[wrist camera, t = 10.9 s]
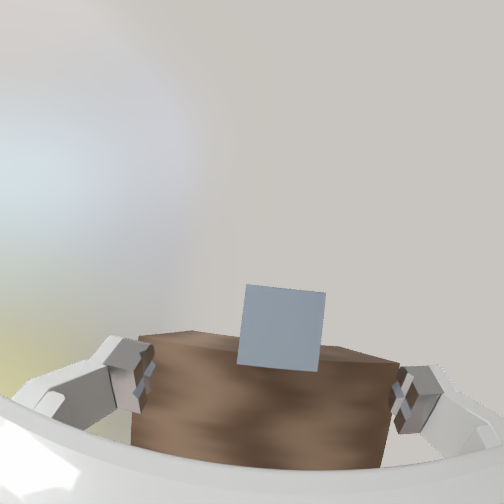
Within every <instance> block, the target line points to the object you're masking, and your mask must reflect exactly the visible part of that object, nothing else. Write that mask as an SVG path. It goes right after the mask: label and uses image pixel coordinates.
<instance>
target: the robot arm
mask: <svg viewBox="0 0 504 504" xmlns="http://www.w3.org/2000/svg"><path fill="white" fill-rule="evenodd" d="M154 355H155V352H154V346H153V345H152V344H150V343H146V342H141V341H136V340H132V339H127V338H122V337H118V336H114V335H111V336H109V337H108V338H107V339H106V340H105V341H104V343H103V344H102V345H101V346H100V347H99V349H98V350H97V351H96V352H95V354H94V355H93V356H92V357H91V358H90V360H89V361H88V360H83V361H80V362H77V363H74V364H72V365H69V366H66V367H63V368H61V369H58V370H55V371H52V372H50V373H47V374H44V375H41V376H38V377H35V378H32V379H29V380H28V381H27V382H26V383H25V384H24V385H23V386H22V388H20V390H19V391H18V392H17V393H16V394H15V395H14V396H13V397H12V399H9V398H6V397H5V396H3V395H1V394H0V504H504V417H502V416H501V415H499V414H497V413H496V412H494V411H492V410H491V409H489V408H487V407H485V406H484V405H482V404H480V403H479V402H477V401H475V400H474V399H472V398H470V397H469V396H467V395H465V394H463V393H462V392H457V391H456V389H455V388H454V386H453V384H452V383H451V381H450V380H449V378H448V376H447V375H446V373H445V372H444V370H443V369H442V367H441V366H439V365H427V366H405V367H400V369H399V370H398V372H397V374H396V378H397V380H398V381H397V382H396V383H395V384H394V385H392V387H391V389H390V392H389V397H388V406H389V409H390V412H391V413H393V414H394V415H395V416H396V417H395V419H394V423H395V426H396V429H397V432H398V434H412V433H420V435H421V436H422V437H424V438H425V439H426V440H427V441H428V442H429V443H430V444H431V445H432V446H433V447H434V448H435V449H436V450H437V451H439V453H441V454H442V455H443V456H444V457H445V458H446V459H441V460H436V461H430V462H424V463H417V464H410V465H404V466H395V467H384V468H373V469H357V470H325V471H314V470H281V469H266V468H254V467H244V466H235V465H227V464H220V463H213V462H206V461H200V460H194V459H189V458H184V457H179V456H174V455H169V454H164V453H160V452H156V451H151V450H147V449H143V448H139V447H136V446H132V445H128V444H124V443H121V442H118V441H115V440H111V439H107V438H105V437H102V436H98V435H95V434H93V433H90V432H87V431H84V430H85V429H87V428H88V427H90V426H91V425H93V424H95V423H96V422H98V421H99V420H101V419H103V418H104V417H106V416H107V415H109V414H111V413H112V412H114V411H115V410H116V408H118V409H122V410H126V411H130V412H135V413H139V414H141V412H142V410H143V408H144V406H145V404H146V402H147V395H146V394H148V393H150V392H152V389H153V387H154V384H155V380H156V365H155V364H154V362H153V361H152V359H153V357H154Z"/></svg>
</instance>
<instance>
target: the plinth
mask: <svg viewBox="0 0 504 504" xmlns="http://www.w3.org/2000/svg"><path fill="white" fill-rule="evenodd" d="M239 340H240V337H234V336H226V335H218V334H211V333H205V332H198V331H184V332H175V333H166V334H155V335H145V336H139V338H138V341H141V342H146V343H150V344H152V345H153V346H154V352H155V355H154V357H153V359H152V361H153V362H154V364H155V365H156V380H155V384H154V387H153V389H152V392H150V393H148V394H146V395H147V402H146V404H145V406H144V408H143V410H142V412H141V414H139V413H135V412H132V427H131V445H132V446H136V447H139V448H143V449H147V450H151V451H156V452H160V453H164V454H169V455H174V456H179V457H184V458H189V459H194V460H200V461H206V462H213V463H220V464H227V465H235V466H244V467H254V468H266V469H281V470H314V471H325V470H357V469H373V468H380V465H381V461H382V457H383V453H384V448H385V445H386V440H387V435H388V431H389V426H390V421H391V416H392V413H391V412H390V409H389V406H388V397H389V392H390V389H391V387H392V385H394V384H395V383H396V382H397V378H396V374H397V372H398V370H399V365H400V363H397V362H393V361H389V360H386V359H382V358H378V357H374V356H370V355H367V354H363V353H360V352H356V351H353V350H349V349H346V348H342V347H338V346H322V345H320V353H319V361H318V369H317V372H314V371H300V370H288V369H277V368H267V367H258V366H249V365H241V364H237V357H238V348H239Z"/></svg>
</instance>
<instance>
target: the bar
mask: <svg viewBox="0 0 504 504" xmlns="http://www.w3.org/2000/svg"><path fill="white" fill-rule="evenodd" d="M325 296H326V293H323V292H314V291H304V290H294V289H284V288H276V287H267V286H258V285H249V284H247V285H246V291H245V299H244V307H243V315H242V324H241V332H240V340H239V348H238V357H237V364H241V365H249V366H258V367H267V368H277V369H288V370H300V371H314V372H317V369H318V361H319V353H320V345H321V336H322V327H323V318H324V308H325Z"/></svg>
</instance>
